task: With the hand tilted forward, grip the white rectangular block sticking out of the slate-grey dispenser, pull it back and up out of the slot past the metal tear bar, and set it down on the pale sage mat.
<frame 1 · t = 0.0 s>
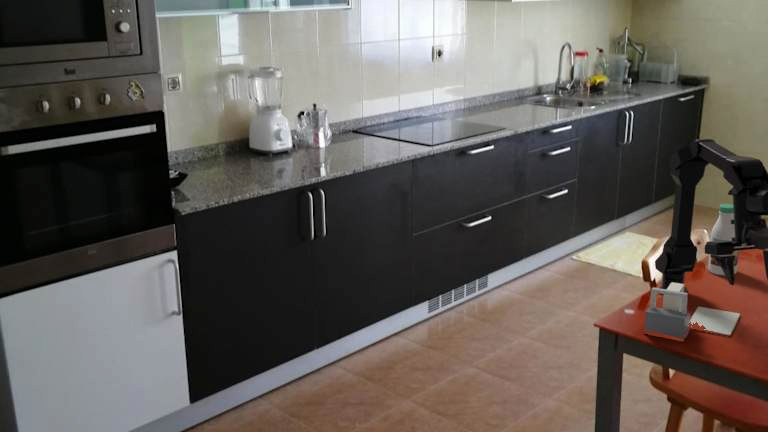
hand: (751, 283, 179), 15 cm above the table, tool pointing down, fingers open, 9 cm apart
mat: (713, 322, 196), on the table
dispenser: (666, 333, 191), on the table
milk bottle: (722, 272, 229), on the table
white rectangular block: (671, 326, 195), resting in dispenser
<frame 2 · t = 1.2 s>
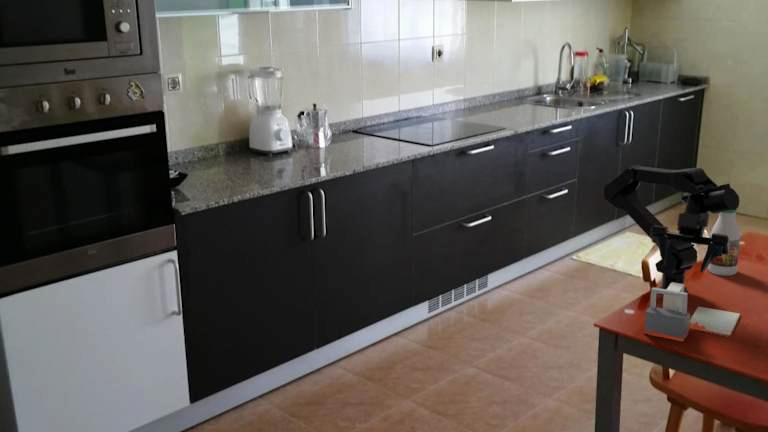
hand: (681, 269, 198), 13 cm above the table, tool tilted 45°, fingers open, 9 cm apart
nothing on the table moved.
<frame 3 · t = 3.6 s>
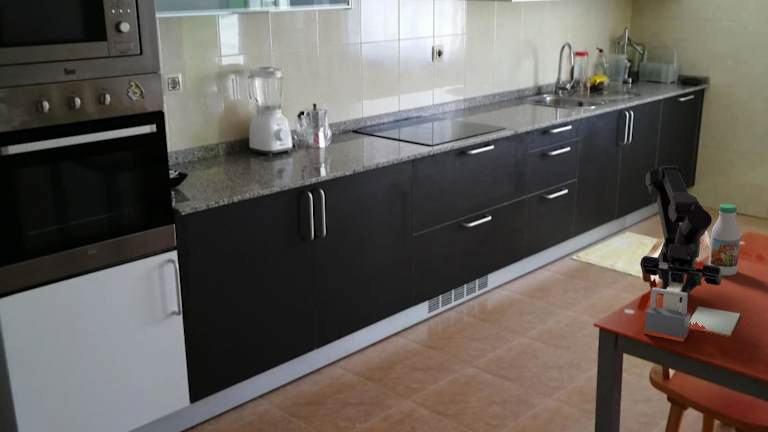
hand: (673, 301, 193), 7 cm above the table, tool tilted 45°, fingers closed on white rectangular block, 3 cm apart
white rectangular block: (671, 326, 195), resting in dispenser, touching gripper
everything else where it was.
when the fingers open (8 cm above the table, at t = 6.6 s): white rectangular block stays where it is, resting on mat.
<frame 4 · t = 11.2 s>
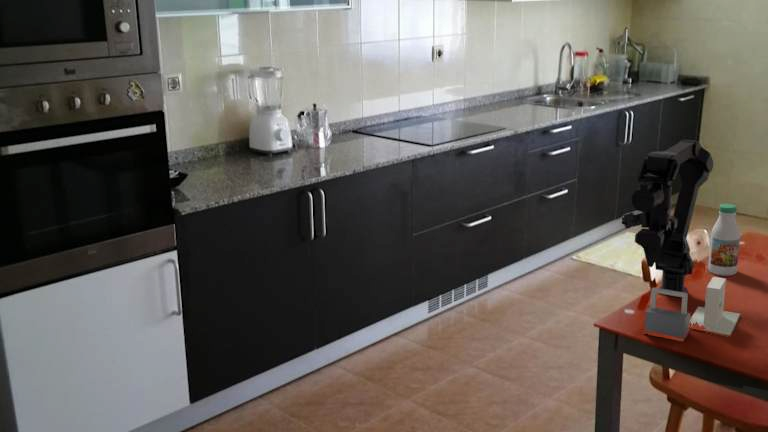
hand: (654, 261, 202), 13 cm above the table, tool pointing down, fingers open, 9 cm apart
white rectangular block: (713, 320, 196), point 1 cm above the table, touching mat
everything else where it was.
at the end: white rectangular block inside the target area on the mat (0.4 cm from its centre), point 0.6 cm above the mat's base; white rectangular block touching mat; the gripper is holding nothing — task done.
